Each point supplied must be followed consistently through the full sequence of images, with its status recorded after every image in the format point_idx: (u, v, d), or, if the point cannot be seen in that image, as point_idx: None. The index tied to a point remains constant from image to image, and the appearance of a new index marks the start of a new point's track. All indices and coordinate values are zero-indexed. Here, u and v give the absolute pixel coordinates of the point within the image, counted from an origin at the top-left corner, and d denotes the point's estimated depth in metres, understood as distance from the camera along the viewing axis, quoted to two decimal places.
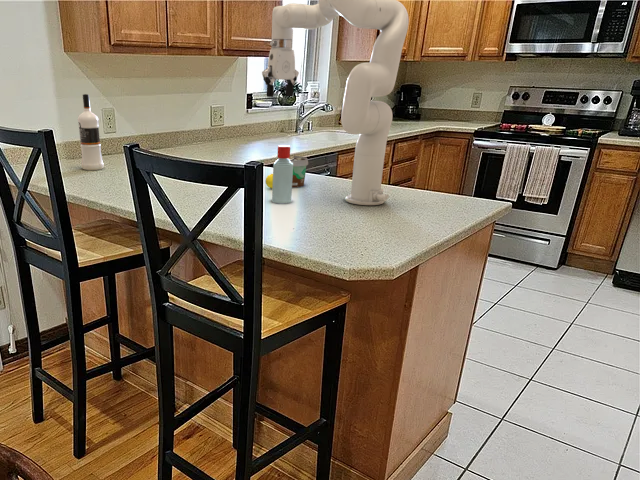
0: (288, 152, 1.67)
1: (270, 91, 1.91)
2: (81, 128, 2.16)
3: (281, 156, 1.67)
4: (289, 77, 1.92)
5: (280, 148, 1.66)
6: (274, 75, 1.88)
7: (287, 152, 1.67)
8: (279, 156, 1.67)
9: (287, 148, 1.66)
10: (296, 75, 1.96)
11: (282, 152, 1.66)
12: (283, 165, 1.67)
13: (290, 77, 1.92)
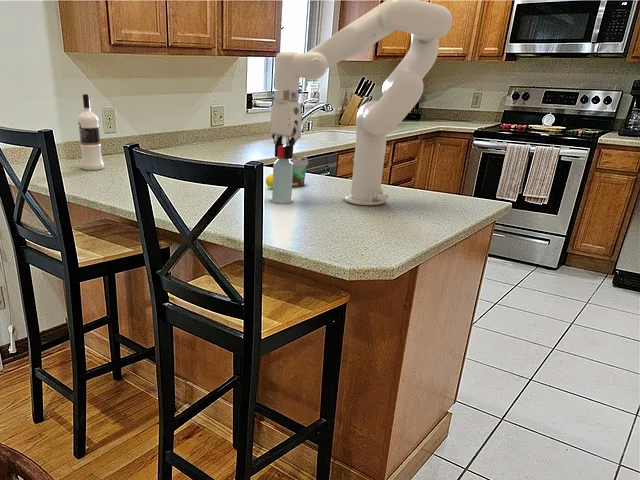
0: None
1: None
2: (81, 128, 2.16)
3: (281, 156, 1.67)
4: None
5: (280, 148, 1.66)
6: (300, 131, 1.63)
7: None
8: (279, 156, 1.67)
9: None
10: None
11: (282, 152, 1.66)
12: (283, 165, 1.67)
13: None
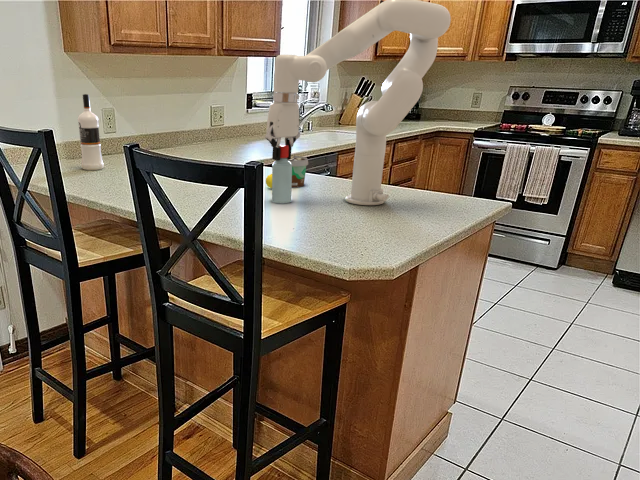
0: None
1: None
2: (81, 128, 2.16)
3: (287, 155, 1.68)
4: None
5: (287, 147, 1.66)
6: None
7: None
8: (286, 156, 1.67)
9: None
10: None
11: (288, 151, 1.67)
12: (281, 165, 1.67)
13: None
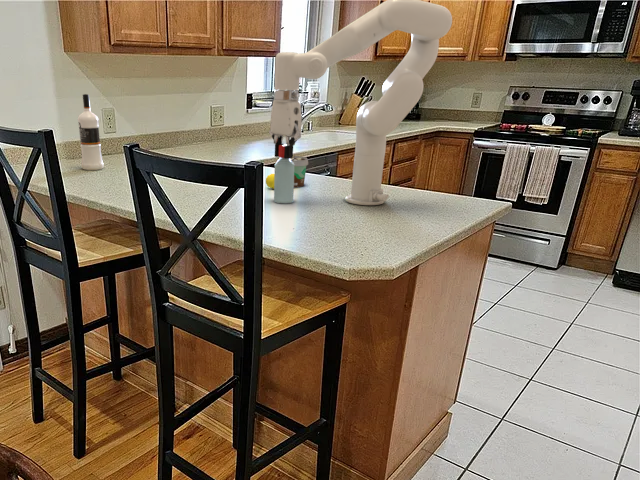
0: None
1: None
2: (81, 128, 2.16)
3: None
4: None
5: None
6: (300, 131, 1.63)
7: None
8: None
9: None
10: None
11: None
12: (284, 164, 1.67)
13: None
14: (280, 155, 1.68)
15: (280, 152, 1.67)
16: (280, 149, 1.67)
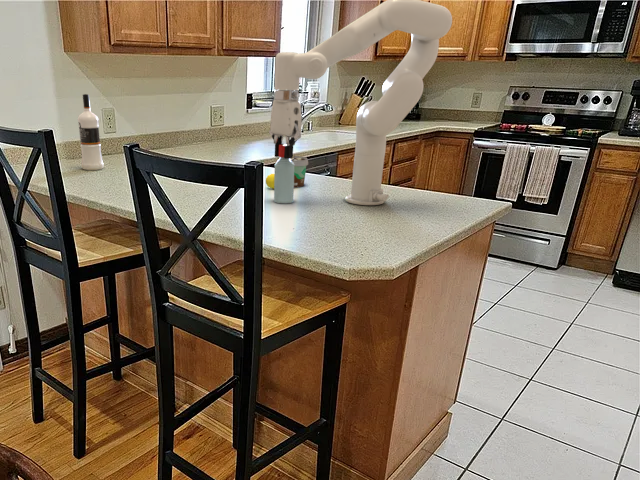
0: None
1: None
2: (81, 128, 2.16)
3: None
4: None
5: None
6: (300, 131, 1.63)
7: None
8: None
9: None
10: None
11: None
12: (284, 164, 1.67)
13: None
14: None
15: None
16: None
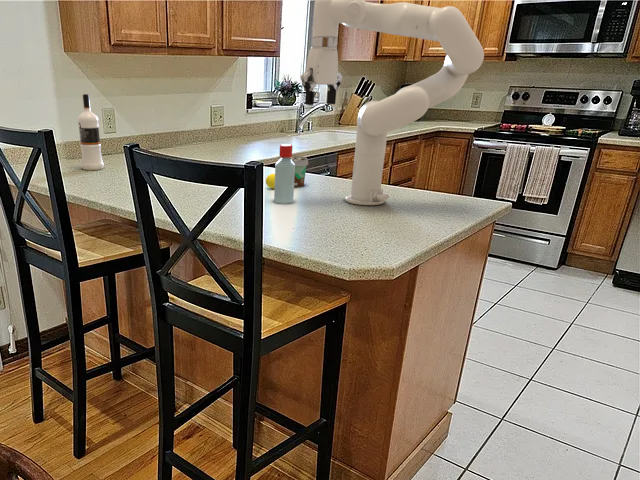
0: (282, 151, 1.67)
1: None
2: (81, 128, 2.16)
3: None
4: None
5: None
6: None
7: (281, 151, 1.67)
8: None
9: (281, 147, 1.66)
10: None
11: None
12: (285, 165, 1.67)
13: None
14: None
15: None
16: None
